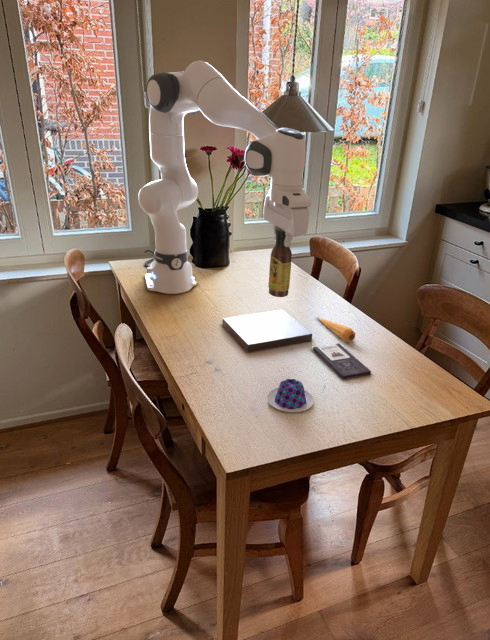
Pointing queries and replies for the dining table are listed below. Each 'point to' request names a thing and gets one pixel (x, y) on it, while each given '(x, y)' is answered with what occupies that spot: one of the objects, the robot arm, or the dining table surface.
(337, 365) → the chocolate bar
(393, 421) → the dining table surface
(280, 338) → the walnut board
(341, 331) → the carrot
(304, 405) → the pudding
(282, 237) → the sauce bottle
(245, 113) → the robot arm
